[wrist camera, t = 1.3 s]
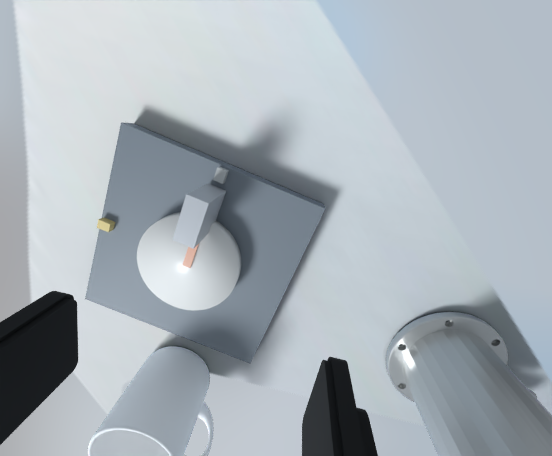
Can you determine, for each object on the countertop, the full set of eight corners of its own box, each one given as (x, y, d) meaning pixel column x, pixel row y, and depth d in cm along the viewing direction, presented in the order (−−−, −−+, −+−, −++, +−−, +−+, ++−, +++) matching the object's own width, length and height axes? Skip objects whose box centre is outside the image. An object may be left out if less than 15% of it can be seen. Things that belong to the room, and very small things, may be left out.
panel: (323, 204, 28) (326, 210, 25) (253, 351, 34) (249, 369, 31) (133, 123, 27) (115, 122, 24) (97, 289, 33) (79, 302, 31)
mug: (201, 420, 39) (165, 522, 28) (134, 366, 37) (70, 454, 26) (244, 391, 36) (222, 490, 26) (175, 331, 34) (122, 413, 24)
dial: (222, 315, 30) (207, 350, 25) (135, 280, 30) (102, 309, 25) (267, 208, 26) (259, 224, 21) (166, 165, 26) (134, 172, 21)
